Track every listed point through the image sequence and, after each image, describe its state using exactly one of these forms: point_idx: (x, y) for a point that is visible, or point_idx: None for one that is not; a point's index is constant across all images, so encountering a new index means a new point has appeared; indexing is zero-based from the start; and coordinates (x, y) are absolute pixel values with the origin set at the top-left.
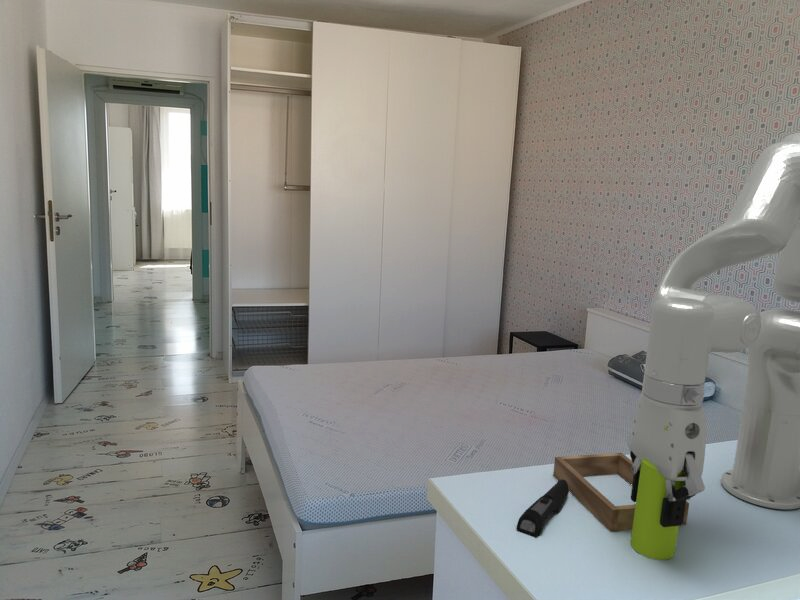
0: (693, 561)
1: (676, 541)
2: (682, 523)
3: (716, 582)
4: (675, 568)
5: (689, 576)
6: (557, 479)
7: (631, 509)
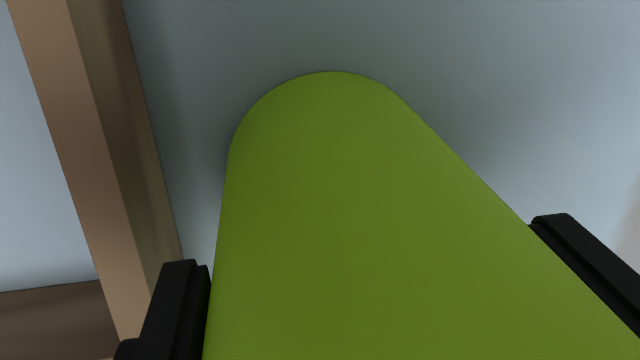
0: (463, 26)
1: (412, 111)
2: (567, 215)
3: (627, 15)
4: (491, 147)
5: (554, 117)
6: None
7: (148, 277)
